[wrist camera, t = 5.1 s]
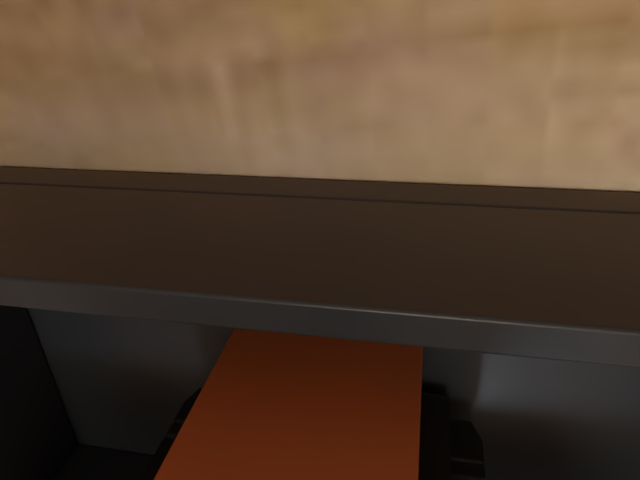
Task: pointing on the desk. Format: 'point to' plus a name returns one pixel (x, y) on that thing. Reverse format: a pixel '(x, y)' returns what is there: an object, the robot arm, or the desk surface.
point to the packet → (303, 412)
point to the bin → (315, 308)
